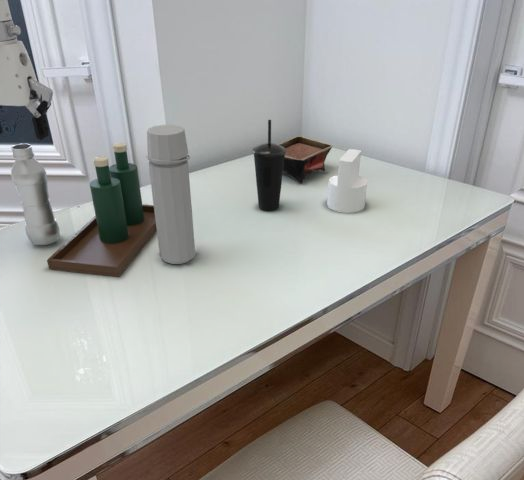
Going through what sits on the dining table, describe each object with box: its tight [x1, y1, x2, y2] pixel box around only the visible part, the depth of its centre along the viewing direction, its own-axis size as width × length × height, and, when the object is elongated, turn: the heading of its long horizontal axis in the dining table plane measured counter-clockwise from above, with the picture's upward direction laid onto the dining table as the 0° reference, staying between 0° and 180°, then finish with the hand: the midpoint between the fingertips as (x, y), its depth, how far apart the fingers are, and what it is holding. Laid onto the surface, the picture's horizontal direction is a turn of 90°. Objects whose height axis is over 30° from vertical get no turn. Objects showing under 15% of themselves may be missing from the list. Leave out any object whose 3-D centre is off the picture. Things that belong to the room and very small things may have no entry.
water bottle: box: [146, 124, 196, 265], centre depth 105 cm, size 9×8×25 cm
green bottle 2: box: [109, 142, 144, 226], centre depth 120 cm, size 6×6×17 cm
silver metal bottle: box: [10, 143, 61, 246], centre depth 111 cm, size 6×7×20 cm
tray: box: [46, 203, 157, 278], centre depth 117 cm, size 15×30×2 cm, turn 168°
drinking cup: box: [251, 119, 286, 212], centre depth 126 cm, size 8×8×20 cm
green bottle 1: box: [89, 155, 129, 243], centre depth 113 cm, size 6×6×17 cm
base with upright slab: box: [326, 148, 368, 214], centre depth 129 cm, size 9×9×12 cm
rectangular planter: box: [278, 135, 333, 184], centre depth 149 cm, size 14×18×10 cm
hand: (19, 136), depth 104 cm, fingers open, 9 cm apart
